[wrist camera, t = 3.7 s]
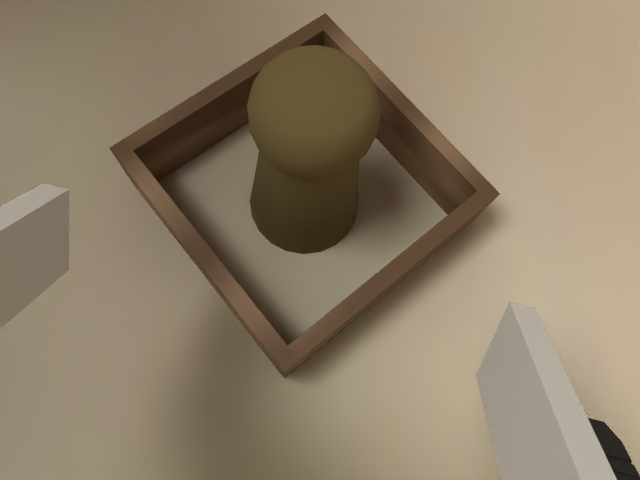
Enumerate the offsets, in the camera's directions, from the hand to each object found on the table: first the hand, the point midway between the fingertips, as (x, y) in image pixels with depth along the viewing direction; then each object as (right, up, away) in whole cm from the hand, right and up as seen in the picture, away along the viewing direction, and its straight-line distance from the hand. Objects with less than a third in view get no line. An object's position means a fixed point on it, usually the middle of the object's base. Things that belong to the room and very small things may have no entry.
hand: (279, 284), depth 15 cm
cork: (0, +3, +14) cm, 14 cm away
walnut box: (0, +3, +14) cm, 14 cm away
